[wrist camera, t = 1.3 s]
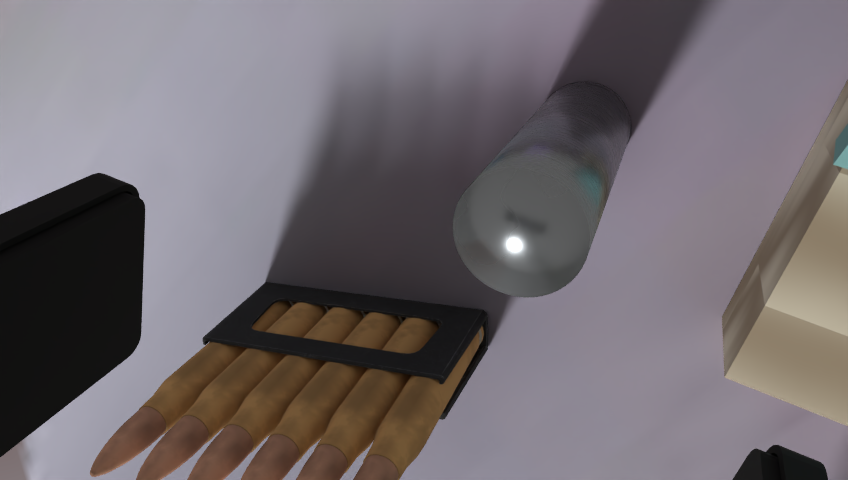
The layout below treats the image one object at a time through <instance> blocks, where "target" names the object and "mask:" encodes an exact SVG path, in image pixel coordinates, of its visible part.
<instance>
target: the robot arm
mask: <svg viewBox="0 0 848 480" xmlns="http://www.w3.org/2000/svg"><path fill="white" fill-rule="evenodd" d="M144 229H145V204H144V202H143V200H141V199H140V198H139V193H138V191H137V189H136V188H135V187H134V186H133V185H130V184H128V183H125V182H123V181H120V180H118V179H115V178H113V177H110V176H108V175H106V174H102V173H97V174H92V175H90V176H88V177H86V178H83V179H81V180H79V181H76V182H74V183H72V184H69V185H67V186H65V187H63V188H60V189H58V190H56V191H53V192H51V193H49V194H47V195H44V196H42V197H40V198H37V199H35V200H33V201H30V202H28V203H26V204H24V205H21V206H19V207H17V208H14V209H12V210H10V211H8V212H5V213H3V214H1V215H0V457H1V456H3V455H4V454H5V453H6V452H8V451H9V450H10V449H11V448H13V447H14V446H15V445H17V444H18V443H19V442H20V441H22V440H23V439H24V438H26V437H27V436H28V435H29V434H31V433H32V432H33V431H35V430H36V429H37V428H38V427H40V426H41V425H42V424H43V423H45V422H46V421H47V420H49V419H50V418H51V417H52V416H54V415H55V414H56V413H58V412H59V411H60V410H61V409H63V408H64V407H65V406H67V405H68V404H69V403H70V402H72V401H73V400H74V399H75V398H77V397H78V396H79V395H81V394H82V393H83V392H84V391H86V390H87V389H88V388H90V387H91V386H92V385H93V384H95V383H96V382H97V381H99V380H100V379H101V378H102V377H104V376H105V375H106V374H107V373H109V372H110V371H111V370H113V369H114V368H115V367H116V366H118V365H119V364H120V363H122V362H123V361H124V360H125V359H127V358H128V357H129V356H130V355H131V354H132V353H133V352H134V350H135V349H136V347H137V345H138V344H139V341H140V338H141V322H142V291H143V260H144ZM733 480H828V477H827V472H826V469H825V467H824V465H823V464H822V463H821V462H819V461H816V460H814V459H811V458H809V457H806V456H804V455H801V454H799V453H796V452H794V451H791V450H789V449H786V448H784V447H782V446H779V445H773V446H772V447H770V448H769V449H768V450H767V452H764V451H761V450H759V449H754V450H752V451H751V452H750V454H749V455H748V456H747V458H746V459H745V461H744V462H743V464H742V466H741V467H740V469H739V470H738V472H737V473H736V475H735V477H734V478H733Z"/></svg>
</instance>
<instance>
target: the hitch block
mask: <svg viewBox="0 0 848 480" xmlns="http://www.w3.org/2000/svg"><path fill="white" fill-rule="evenodd" d="M847 124H848V80H847V82H846V84H845V86H844V88H843V90H842V92H841V94H840V96H839V97H838V99H837V101H836V103H835V105H834V107H833V109H832V111H831V113H830V114H829V116H828V118H827V120H826V122H825V124H824V126H823V128H822V130H821V131H820V133H819V135H818V137H817V139H816V141H815V143H814V145H813V146H812V148H811V150H810V152H809V154H808V156H807V158H806V160H805V162H804V163H803V165H802V167H801V169H800V171H799V173H798V175H797V177H796V179H795V180H794V182H793V184H792V186H791V188H790V190H789V192H788V194H787V195H786V197H785V199H784V201H783V203H782V205H781V207H780V209H779V211H778V212H777V214H776V216H775V218H774V220H773V222H772V224H771V226H770V228H769V229H768V231H767V233H766V235H765V237H764V239H763V241H762V243H761V244H760V246H759V248H758V250H757V252H756V254H755V256H754V258H753V260H752V261H751V263H750V265H749V267H748V269H747V271H746V273H745V275H744V277H743V278H742V280H741V282H740V284H739V286H738V288H737V290H736V292H735V294H734V295H733V297H732V299H731V301H730V303H729V305H728V307H727V309H726V310H725V312H724V314H723V316H722V328H723V352H724V376H725V378H727V379H730V380H732V381H735V382H737V383H740V384H742V385H745V386H748V387H750V388H753V389H755V390H758V391H760V392H763V393H765V394H768V395H770V396H773V397H775V398H778V399H780V400H783V401H785V402H788V403H791V404H793V405H796V406H798V407H801V408H803V409H806V410H808V411H811V412H813V413H816V414H818V415H821V416H823V417H826V418H828V419H831V420H834V421H836V422H839V423H841V424H844V425H846V426H848V169H845V168H842V167H839V166H836V165H833V161H834V151H835V142H836V139H837V138H838V136H839V135H840V133H841V132H842V131H843V129H844V128H845V126H846V125H847Z"/></svg>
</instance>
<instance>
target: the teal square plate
mask: <svg viewBox="0 0 848 480" xmlns="http://www.w3.org/2000/svg"><path fill="white" fill-rule="evenodd" d="M833 165H836V166H839V167H842V168H845V169H848V124H847V125H846V126H845V128H844V129H843V131H842V132H841V133H840V135H839V136H838V138H837V139H836V142H835V151H834V161H833Z"/></svg>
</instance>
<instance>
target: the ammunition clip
mask: <svg viewBox="0 0 848 480" xmlns="http://www.w3.org/2000/svg"><path fill="white" fill-rule="evenodd" d="M208 342H209V343H208ZM207 343H208V344H207ZM203 344H204V345H206V344H207V345H206V346H205V347H204V348H202V349H201V350H200V351H199V352H198V353H197V354H195V355H194V356H193V357H192V358H191V359H189V360H188V361H187V362H186V363H185V364H184V365H182V366H181V367H180V368H179V369H178V370H177V371H175V372H174V373H173V374H172V375H171V376H170V377H168V378H167V379H166V380H165V381H164V382H163V383H162V384H161V386H160V387H159V388H158V390H157V391H156V392H155V394H154V395H153V396H152V397H151V398H150V399H149V400H148V401H147V402H146V403H145V404H144V405H143V406H142V407H141V408H140V409H139V411H137V412H136V413H135V414H134V415H133V416H132V417H131V418H130V419H128V420H127V421H126V422H125V423H124V424H123V425H122V426H121V427H120V428H119V429H118V430H117V431H116V433H115V434H114V435H113V436H112V437H111V438H110V439H109V441H108V442H107V443H106V444H105V446H104V447H103V449H102V450H101V452H100V453H99V454H98V456H97V458H96V459H95V461H94V463H93V466H92V468H91V471H90V475H91V476H92V477H96V476H100V475H103V474H106V473H108V472H110V471H112V470H114V469H116V468H118V467H120V466H122V465H123V464H125V463H127V462H128V461H130V460H131V459H133V458H134V457H135V456H137V455H138V454H139V453H141V452H142V451H143V450H145V449H146V448H147V447H149V446H150V445H151V444H152V443H153V442H154V441H156V440H157V439H158V438H159V437H160V436H161V435H163V434H164V433H166V432H167V431H168V430H169V429H170V428H171V429H170V430H169V431H168V432H167V433H166V434H165V435H164V436H163V437H162V439H161V440H160V441H159V442H158V443H157V445H156V446H155V447H154V448H153V450H152V451H151V453H150V454H149V456H148V457H147V459H146V460H145V462H144V464H143V465H142V467H141V469H140V471H139V473H138V476H137V478H136V480H160V479H162V478H164V477H166V476H167V475H168V474H170V473H171V472H173V471H174V470H176V469H177V468H178V467H180V466H181V465H182V464H183V463H185V462H186V461H187V460H188V459H189V458H191V457H192V456H193V455H194V454H195V453H196V452H197V451H198V450H199V449H200V448H201V447H202V446H203V445H204V444H206V443H207V442H208V441H209V440H210V439H212V438H213V437H214V436H215V435H216V434H217V433H218V432H219V431H220V430H221V429H223V428H224V429H223V430H222V431H221V432H220V434H219V435H218V436H217V437H216V438H215V439H214V440H213V441H212V442H211V444H210V445H209V446H208V447H207V449H206V450H205V451H204V453H203V454H202V455H201V457H200V458H199V460H198V461H197V463H196V465H195V466H194V468H193V470H192V472H191V474H190V475H189V477H188V479H187V480H223V479H225V478H226V477H227V476H228V475H229V474H230V473H231V472H232V471H233V470H235V469H236V468H237V467H238V466H239V465H240V464H241V462H242V461H243V460H244V459H245V458H246V457H247V456H248V455H249V454H250V453H251V452H253V451H254V449H255V448H256V447H257V446H258V445H259V444H260V443H261V442H262V441H263V440H264V439H265V438H266V437H268V436H269V435H270V434H271V435H270V436H269V438H268V440H267V441H266V442H265V444H264V445H263V446H262V447H261V448H260V450H259V451H258V452H257V454H256V455H255V457H254V458H253V460H252V461H251V463H250V464H249V466H248V467H247V469H246V471H245V472H244V474H243V476H242V478H241V480H282V479H283V478H284V477H285V476H286V475H287V473H288V472H289V471H290V470H291V468H292V467H293V466H294V465H295V463H297V462H298V461H299V460H300V459H301V458H302V456H303V455H304V454H305V453H306V452H307V451H308V449H309V448H310V447H311V446H313V445H314V444H315V443H316V442H318V441H319V440H320V439H321V438H322V439H321V440H320V442H319V443H318V445H317V446H316V448H315V450H314V452H313V453H312V455H311V456H310V458H309V459H308V460H307V462H306V463H305V465H304V467H303V468H302V470H301V472H300V474H299V475H298V477H297V479H296V480H340V479H341V477H342V476H343V474H344V473H345V472H347V470H348V469H349V467H350V466H351V465H352V463H353V462H354V461H355V459H356V458H357V457H358V456H359V455H360V454H361V453H363V452H364V451H365V450H366V449H367V448H368V447H369V446H370V444H371V443H372V442H373V444H372V446H371V448H370V450H369V452H368V454H367V455H366V457H365V459H364V461H363V464H362V466H361V467H360V469H359V471H358V472H357V474H356V476H355V477H354V479H353V480H399V479H400V477H401V476H402V474H403V473H404V471H405V469H406V468H407V467H408V466H409V465H410V464H411V463H412V462H413V461H414V459H415V458H416V457H417V456H418V455H419V453H420V452H421V450H422V449H423V447H424V445H425V444H426V442H427V440H428V438H429V436H430V434H431V433H432V431H433V429H434V427H435V425H436V424H437V422H438V420H439V419H445V418H446V416H447V414H448V413H449V411H450V410H451V408H452V406H453V405H454V403H455V401H456V400H457V398H458V397H459V395H460V393H461V392H462V390H463V388H464V387H465V385H466V384H467V382H468V380H469V379H470V377H471V375H472V374H473V372H474V370H475V369H476V367H477V366H478V364H479V362H480V361H481V359H482V357H483V356H484V354H485V353H486V351H487V349H488V338H487V314H486V313H485V312H484V311H483V310H479V309H471V308H463V307H456V306H448V305H440V304H432V303H424V302H416V301H409V300H401V299H393V298H385V297H377V296H369V295H362V294H354V293H346V292H338V291H330V290H323V289H315V288H307V287H299V286H291V285H283V284H276V283H268V282H266V283H265V284H263V285H262V286H261V287H260V288H259V289H258V290H257V291H255V292H254V293H253V294H252V295H251V296H250V297H249V298H247V299H246V300H245V301H244V302H243V303H242V304H241V305H240V306H238V307H237V308H236V309H235V310H234V311H233V312H232V313H230V314H229V315H228V316H227V317H226V318H225V319H224V320H222V321H221V322H220V323H219V324H218V325H217V326H216V327H214V328H213V329H212V330H211V331H210V332H209V333H208V334H207V335H205V336H204V337H203ZM373 440H374V441H373Z"/></svg>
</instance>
